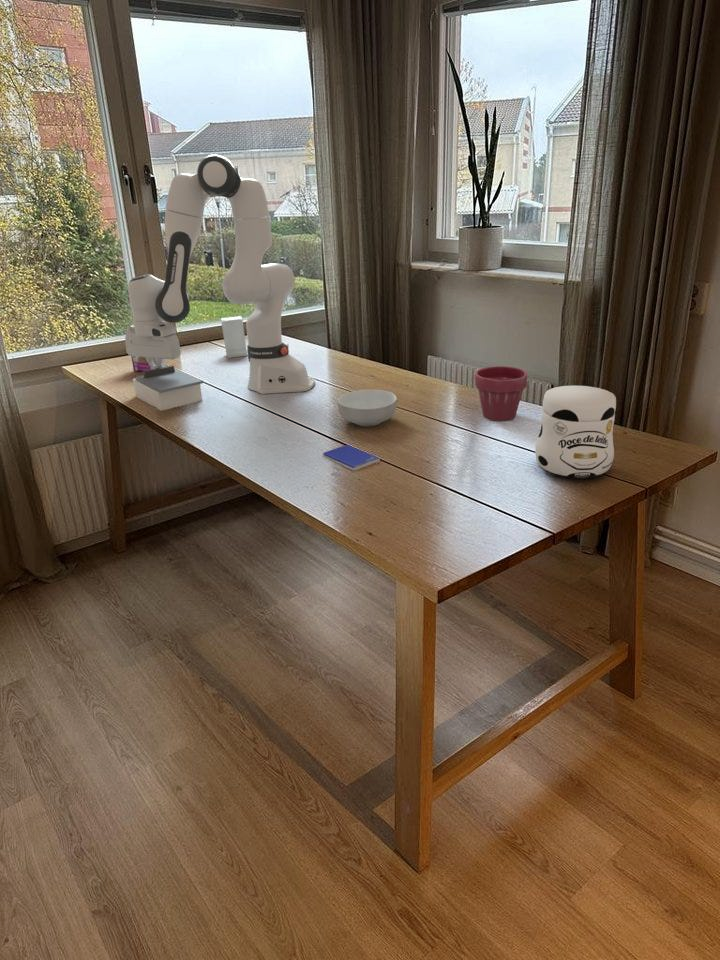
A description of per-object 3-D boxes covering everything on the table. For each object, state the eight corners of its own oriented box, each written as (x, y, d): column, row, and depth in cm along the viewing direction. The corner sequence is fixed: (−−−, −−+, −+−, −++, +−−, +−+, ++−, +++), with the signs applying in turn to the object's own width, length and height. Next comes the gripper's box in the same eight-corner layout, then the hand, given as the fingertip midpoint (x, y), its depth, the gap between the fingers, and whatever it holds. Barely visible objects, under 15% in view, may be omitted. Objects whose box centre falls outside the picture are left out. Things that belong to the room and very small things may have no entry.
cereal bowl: (330, 417, 196) (329, 393, 193) (383, 408, 201) (383, 386, 198) (350, 436, 181) (349, 411, 178) (406, 426, 187) (406, 402, 184)
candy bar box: (133, 372, 249) (125, 328, 242) (138, 368, 254) (130, 325, 247) (162, 372, 248) (155, 327, 241) (167, 368, 252) (160, 324, 246)
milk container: (579, 492, 146) (588, 413, 138) (518, 467, 159) (523, 394, 151) (627, 471, 155) (638, 396, 147) (565, 449, 168) (572, 379, 160)
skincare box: (246, 352, 270) (242, 315, 264) (247, 356, 265) (243, 318, 258) (225, 354, 268) (220, 317, 262) (225, 358, 263) (221, 320, 257)
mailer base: (135, 396, 221) (132, 378, 219) (175, 387, 229) (172, 370, 226) (161, 410, 207) (157, 392, 204) (202, 400, 214) (199, 382, 212)
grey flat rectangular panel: (135, 379, 217) (133, 371, 215) (175, 371, 224) (174, 362, 223) (161, 392, 202) (159, 383, 201) (203, 383, 210) (202, 374, 209)
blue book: (379, 457, 165) (347, 444, 174) (353, 466, 160) (322, 452, 169) (379, 463, 165) (348, 449, 174) (354, 472, 161) (322, 458, 169)
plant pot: (463, 416, 193) (464, 372, 187) (495, 404, 201) (497, 362, 195) (502, 428, 182) (505, 382, 177) (534, 416, 191) (538, 372, 185)
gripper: (117, 328, 216) (125, 370, 221) (166, 332, 207) (173, 375, 213) (131, 324, 221) (139, 365, 226) (180, 327, 212) (186, 370, 218)
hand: (156, 370), depth 220 cm, fingers closed
